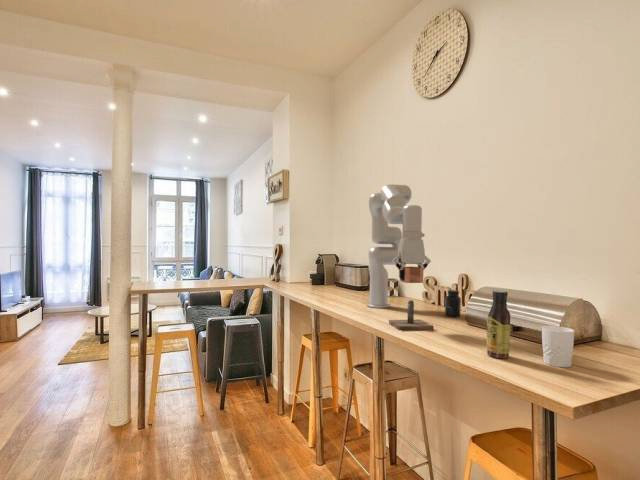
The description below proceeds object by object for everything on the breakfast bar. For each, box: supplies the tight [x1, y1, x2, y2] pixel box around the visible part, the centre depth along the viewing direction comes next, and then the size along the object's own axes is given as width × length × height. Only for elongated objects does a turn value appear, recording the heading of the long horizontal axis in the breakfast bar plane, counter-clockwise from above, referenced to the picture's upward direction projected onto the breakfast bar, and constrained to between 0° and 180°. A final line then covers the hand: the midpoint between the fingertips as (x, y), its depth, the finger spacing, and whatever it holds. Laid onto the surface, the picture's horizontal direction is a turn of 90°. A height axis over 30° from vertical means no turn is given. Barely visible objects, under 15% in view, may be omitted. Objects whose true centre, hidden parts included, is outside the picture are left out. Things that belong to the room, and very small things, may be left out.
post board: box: [388, 299, 434, 332], centre depth 149 cm, size 12×14×11 cm
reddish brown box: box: [399, 266, 424, 284], centre depth 149 cm, size 7×7×6 cm
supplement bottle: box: [444, 289, 462, 318], centre depth 172 cm, size 7×7×12 cm
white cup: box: [541, 325, 575, 368], centre depth 105 cm, size 8×8×10 cm
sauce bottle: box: [486, 289, 511, 359], centre depth 111 cm, size 7×6×20 cm
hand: (411, 279), depth 149 cm, fingers closed on reddish brown box, 7 cm apart
